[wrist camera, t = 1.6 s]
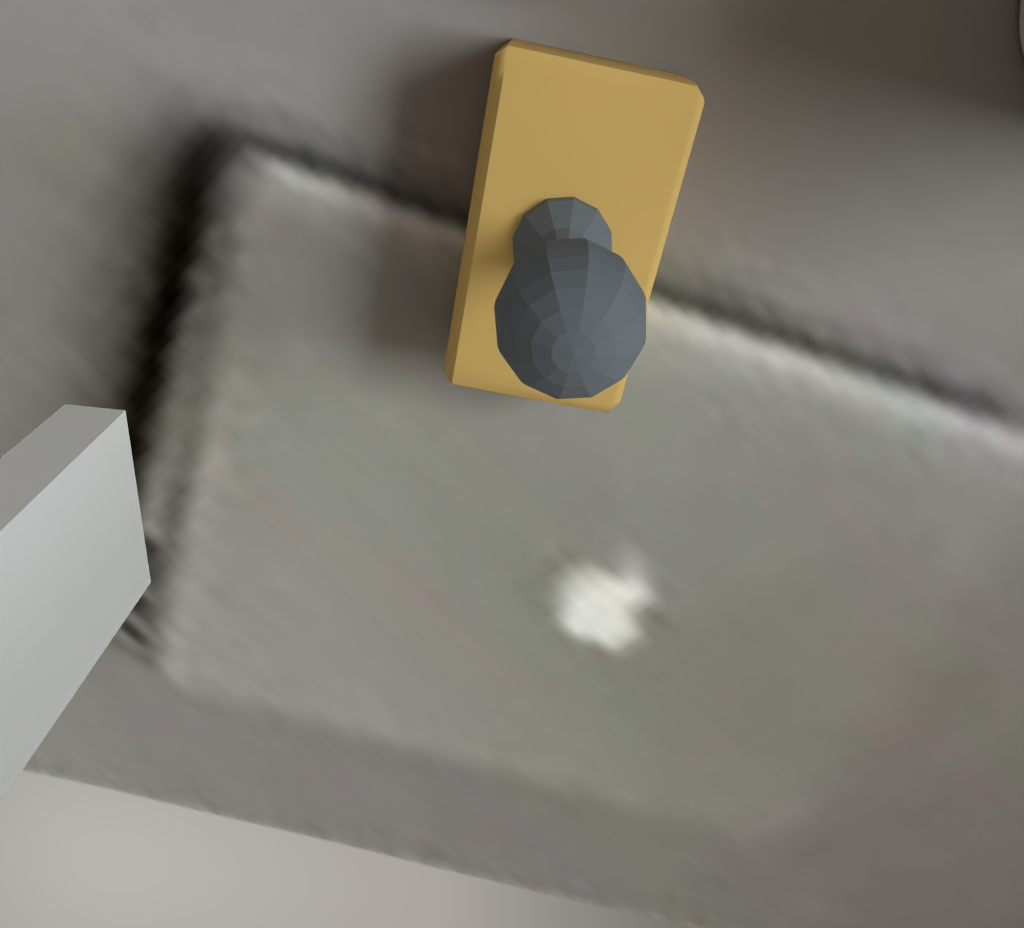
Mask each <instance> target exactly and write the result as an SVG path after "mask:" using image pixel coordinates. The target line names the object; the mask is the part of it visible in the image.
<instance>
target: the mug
mask: <svg viewBox="0 0 1024 928" xmlns="http://www.w3.org/2000/svg"><path fill="white" fill-rule="evenodd" d="M1019 30H1020V43H1021V48H1022V52H1023V57H1024V0H1020V14H1019Z"/></svg>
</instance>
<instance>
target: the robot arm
mask: <svg viewBox="0 0 1024 928" xmlns="http://www.w3.org/2000/svg"><path fill="white" fill-rule="evenodd" d="M150 583H151V580H150V573H149V567H148V560H147V553H146V546H145V540H144V533H143V526H142V519H141V513H140V506H139V499H138V492H137V486H136V479H135V472H134V466H133V459H132V452H131V445H130V439H129V432H128V425H127V418H126V412H125V410H116V409H106V408H97V407H87V406H77V405H67V404H65V405H64V406H63V407H61V408H60V409H59V410H58V411H57V412H55V413H54V414H53V415H52V416H50V417H49V418H48V419H47V420H46V421H44V422H43V423H42V424H41V425H40V426H38V427H37V428H36V429H35V430H34V431H32V432H31V433H30V434H29V435H28V436H26V437H25V438H24V439H23V440H22V441H20V442H19V443H18V444H17V445H16V446H14V447H13V448H12V449H11V450H10V451H8V452H7V453H6V454H5V455H4V456H2V457H1V458H0V802H1V800H2V799H3V798H4V796H5V795H6V793H7V792H8V791H9V789H10V788H11V786H12V785H13V783H14V782H15V780H16V779H17V777H18V776H19V774H20V773H21V771H22V770H23V769H24V767H25V766H26V764H27V763H28V761H29V760H30V758H31V757H32V755H33V754H34V753H35V751H36V750H37V748H38V747H39V745H40V744H41V742H42V741H43V739H44V738H45V736H46V735H47V733H48V732H49V731H50V729H51V728H52V726H53V725H54V723H55V722H56V720H57V719H58V717H59V716H60V714H61V713H62V712H63V710H64V709H65V707H66V706H67V704H68V703H69V701H70V700H71V698H72V697H73V695H74V694H75V692H76V691H77V690H78V688H79V687H80V685H81V684H82V682H83V681H84V679H85V678H86V676H87V675H88V673H89V672H90V671H91V669H92V668H93V666H94V665H95V663H96V662H97V660H98V659H99V657H100V656H101V654H102V653H103V651H104V650H105V649H106V647H107V646H108V644H109V643H110V641H111V640H112V638H113V637H114V635H115V634H116V632H117V631H118V630H119V628H120V627H121V625H122V624H123V622H124V621H125V619H126V618H127V616H128V615H129V613H130V612H131V610H132V609H133V608H134V606H135V605H136V603H137V602H138V600H139V599H140V597H141V596H142V594H143V593H144V591H145V590H146V589H147V587H148V586H149V584H150Z"/></svg>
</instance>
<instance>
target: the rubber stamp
mask: <svg viewBox="0 0 1024 928" xmlns="http://www.w3.org/2000/svg"><path fill="white" fill-rule="evenodd" d="M704 102H705V100H704V98H703V96H702V94H701V92H700V90H699V88H698V86H697V84H696V83H695V82H693V81H691V80H689V79H687V78H685V77H683V76H681V75H679V74H675V73H670V72H666V71H661V70H656V69H652V68H647V67H643V66H638V65H633V64H629V63H624V62H619V61H615V60H610V59H606V58H601V57H596V56H592V55H587V54H582V53H578V52H573V51H569V50H564V49H559V48H555V47H550V46H545V45H541V44H536V43H532V42H527V41H522V40H518V39H513V38H512V39H511V40H510V41H509V42H507V43H506V44H505V45H503V46H502V47H501V48H500V49H499V50H498V51H497V52H496V53H495V56H494V62H493V68H492V74H491V81H490V87H489V93H488V99H487V105H486V112H485V118H484V124H483V130H482V136H481V142H480V149H479V155H478V161H477V167H476V173H475V180H474V186H473V192H472V198H471V204H470V210H469V217H468V223H467V229H466V235H465V241H464V247H463V254H462V260H461V266H460V272H459V278H458V285H457V291H456V297H455V303H454V309H453V315H452V322H451V328H450V334H449V340H448V346H447V353H446V359H445V365H444V372H445V373H446V375H447V377H448V378H449V380H450V382H451V383H452V384H454V385H460V386H465V387H471V388H476V389H481V390H487V391H492V392H498V393H503V394H508V395H514V396H519V397H525V398H530V399H535V400H541V401H546V402H552V403H557V404H562V405H568V406H573V407H579V408H584V409H589V410H595V411H600V412H606V413H607V412H609V411H610V410H611V409H612V408H614V407H615V406H616V405H617V404H619V402H620V400H621V397H622V393H623V390H624V386H625V382H626V379H627V375H628V372H629V369H630V368H631V366H632V364H633V363H634V361H635V360H636V358H637V356H638V355H639V353H640V351H641V350H642V348H643V346H644V345H645V339H646V308H647V305H648V301H649V298H650V294H651V291H652V287H653V283H654V280H655V276H656V273H657V269H658V266H659V262H660V259H661V255H662V252H663V248H664V245H665V241H666V237H667V234H668V230H669V227H670V223H671V220H672V216H673V213H674V209H675V206H676V202H677V199H678V195H679V191H680V188H681V184H682V181H683V177H684V174H685V170H686V167H687V163H688V160H689V156H690V153H691V149H692V145H693V142H694V138H695V135H696V131H697V128H698V124H699V121H700V117H701V114H702V110H703V106H704Z"/></svg>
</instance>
